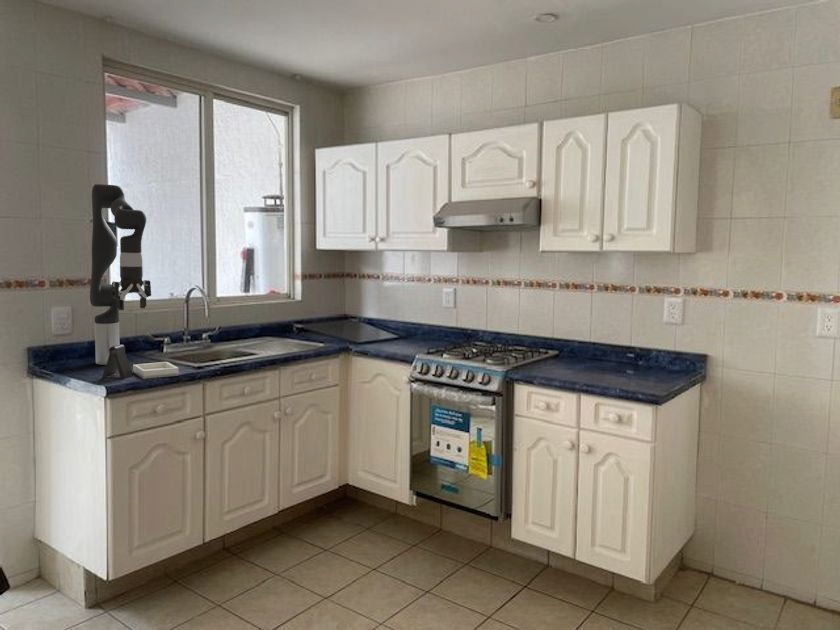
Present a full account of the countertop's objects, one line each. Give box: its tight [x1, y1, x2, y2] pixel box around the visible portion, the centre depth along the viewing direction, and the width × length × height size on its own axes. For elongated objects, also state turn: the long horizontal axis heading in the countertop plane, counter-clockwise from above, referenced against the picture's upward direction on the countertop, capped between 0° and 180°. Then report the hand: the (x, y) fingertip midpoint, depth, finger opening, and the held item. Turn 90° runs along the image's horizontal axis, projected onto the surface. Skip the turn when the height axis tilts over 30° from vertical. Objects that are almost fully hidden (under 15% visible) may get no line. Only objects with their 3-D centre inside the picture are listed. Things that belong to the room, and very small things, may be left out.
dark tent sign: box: [102, 344, 134, 379], centre depth 244 cm, size 9×6×12 cm, turn 86°
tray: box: [132, 361, 180, 380], centre depth 251 cm, size 15×13×3 cm
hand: (132, 309), depth 235 cm, fingers open, 8 cm apart
